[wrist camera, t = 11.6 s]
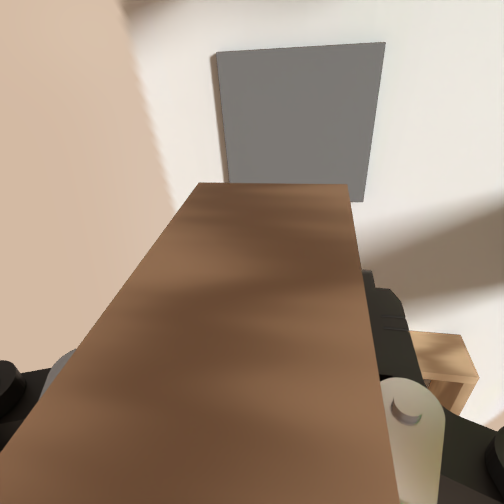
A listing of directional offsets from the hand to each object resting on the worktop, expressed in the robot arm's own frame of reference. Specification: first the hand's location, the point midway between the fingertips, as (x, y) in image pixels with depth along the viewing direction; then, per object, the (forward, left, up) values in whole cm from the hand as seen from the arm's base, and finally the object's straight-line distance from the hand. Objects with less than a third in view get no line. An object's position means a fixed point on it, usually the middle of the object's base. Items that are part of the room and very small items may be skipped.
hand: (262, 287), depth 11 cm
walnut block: (0, 0, -2) cm, 2 cm away
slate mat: (0, 0, -18) cm, 18 cm away
